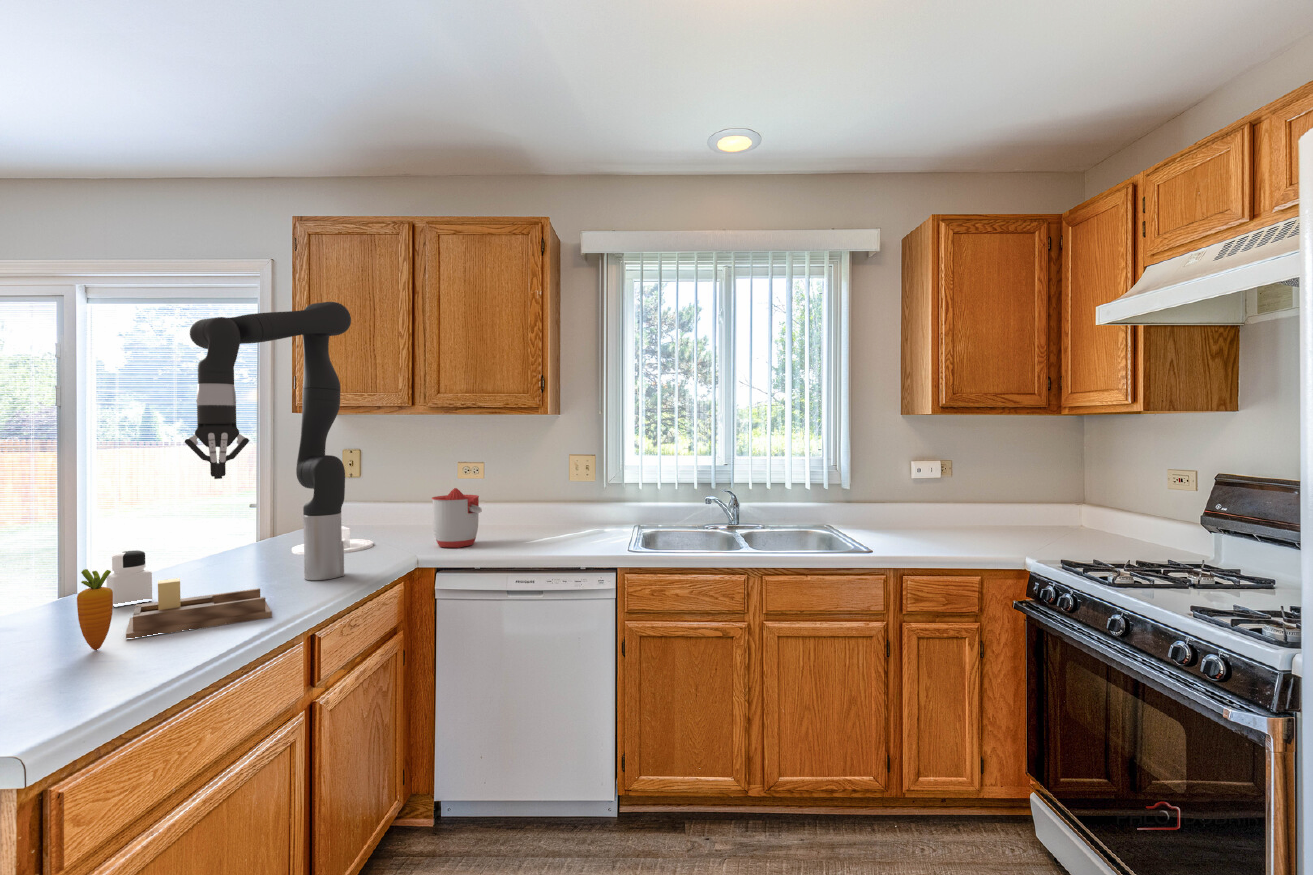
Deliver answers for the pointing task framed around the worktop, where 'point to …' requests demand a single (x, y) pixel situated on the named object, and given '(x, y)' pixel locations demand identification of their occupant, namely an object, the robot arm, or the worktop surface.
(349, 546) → the dish
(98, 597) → the carrot
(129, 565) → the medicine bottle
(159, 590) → the flanged block
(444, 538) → the citrus juicer
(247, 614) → the track
